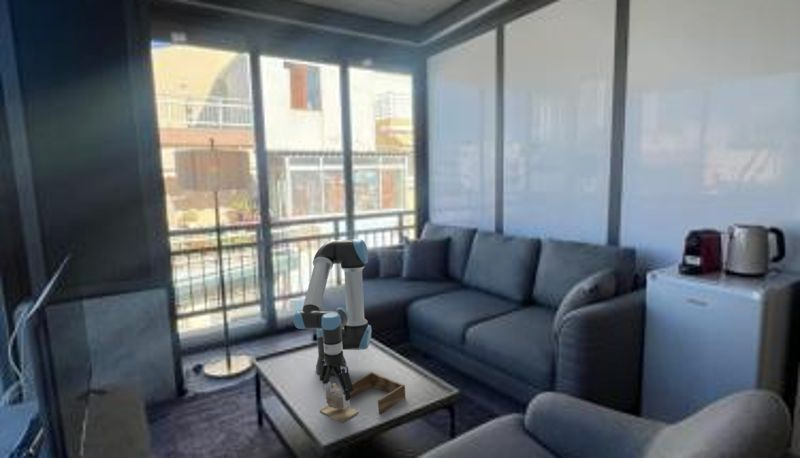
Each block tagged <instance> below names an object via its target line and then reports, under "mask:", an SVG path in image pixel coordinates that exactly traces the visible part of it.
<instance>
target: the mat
mask: <svg viewBox="0 0 800 458" xmlns="http://www.w3.org/2000/svg"><path fill="white" fill-rule="evenodd" d="M319 412H320V413H321V414H324V415H325V416H328V417H329V418H332V419H334V420H335V421H337V422H338V423H341V424H343V423H345V422H346V421H348V420H350V419H351V418H353V417H355V416H356V415H358V414H359V413H360V412H359V411H358V410H357V409H355V408H352V407H351V406H349V407H347V408H345V409H344V407H343V408H342V409H338V408H333V407H329V406H328V405H326V406H324V407H323V408H320V409H319Z"/></svg>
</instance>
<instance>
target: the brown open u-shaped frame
mask: <svg viewBox="0 0 800 458" xmlns="http://www.w3.org/2000/svg"><path fill="white" fill-rule="evenodd" d="M351 383H352V386H353V391H352V392H350V400H351V399H352V398H354V397H356V396H357V395H360V394H361V393H363V392H364V391H366V390H368V389H370V388H372V387H375V388H377V389H379V390H382V391H384V392H385V393H387V394H385V395H383V396H382V397H380V398H379V399H378V400H377V407H378V409H377V410H378V415H382V414H384V413H386V411H388V410H390V409H391V408H393V407H394V406H396V405H398V404H399V403H401V402H402V401H404V400H406V385H405V384H402V383H400V382H398V381H395V380H393V379H390V378H388V377H385V376H383V375H380V374H377V373H375V372H373V371H371V372H370V373H368V374H366V375H364V376H363V377H360V378H359V379H357V380H355V381H353V382H351Z"/></svg>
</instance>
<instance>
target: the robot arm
mask: <svg viewBox="0 0 800 458" xmlns="http://www.w3.org/2000/svg"><path fill="white" fill-rule="evenodd" d="M368 262H369V250H368V247H367V244H366V242H365V240H363V239H360V238H359V239H358V238H346V239H331V240H329V241H326V242H325V243H324V244H323V245H322V246H321V247H319V249H318V250H317V251H316V252H315V255H314V257H313V260H312V265H313V268H312V272H311V276H310V280H309V284H308V287H307V292H306V294H305V299H304V303H303V306H302V310H297V311H296V312H295V313H294V316H293V324H294V326H295V328H297V329H301V330H302V329H303V330H313V329H316V341H317V350H318V351H317V353H318V357H317V361H316V364H315V371H316V373H317V374H318V375H319V381H320V382H321V383H322V384H323V391H324V399H325V400H327V398H328V397H329V396H330V394H331V392H332V390H331V389H332V384H331V382H330V381H331V377H332V376H335V378H337V380H338V382H339V384H340V387H341V388H342V391H343V392H342V393H343V405H344V409H345V408H347V407H351V401H350V400H351V399H350V392H352V391H353V386H352V383H353V382H352V380H351V376H350V373H349V367H348V366H347V361H346V358H345V356H344V350H346V351H349V350H350V351H351V350H354V351H359V350H360V351H361V350H362V351H363V350H367V349H368V348H369V347H370V343H371V338H372V325H370V324H369V323H368V320H367V319H366V318H365V304H364V288H363V287H364V284H363V283H364V282H363V269H364V268H365V267H366V264H368ZM335 264H336V265H338V264H340V269H341V270H343V272H344V290H345V293H344V294H345V308H344V307H337V308H334V309H333V310H321V309H322V304H323V300H324V295H325V291H326V287H327V283H328V278H329V274H330V270H332V269H333V267H334V265H335Z"/></svg>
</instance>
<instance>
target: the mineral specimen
mask: <svg viewBox="0 0 800 458" xmlns="http://www.w3.org/2000/svg"><path fill="white" fill-rule="evenodd" d="M331 389H332V390H331V394H330V396H329V397H328V398H327V399H325V400H326V401H325V403H326V404H327V406H329V407H333V408H338V409H342V408H343V407H344V405H343V392H342V391H341V389H340V388H339V387H338V385H337V383H332V384H331Z"/></svg>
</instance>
